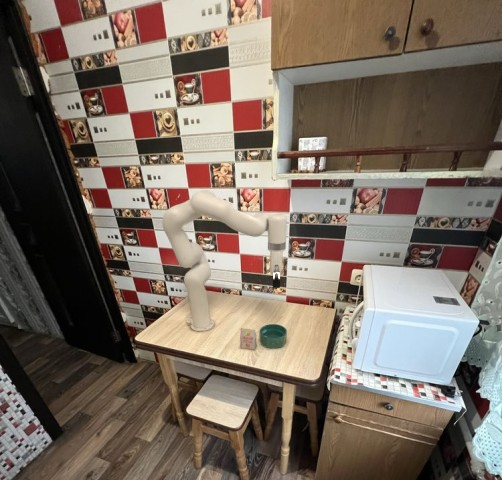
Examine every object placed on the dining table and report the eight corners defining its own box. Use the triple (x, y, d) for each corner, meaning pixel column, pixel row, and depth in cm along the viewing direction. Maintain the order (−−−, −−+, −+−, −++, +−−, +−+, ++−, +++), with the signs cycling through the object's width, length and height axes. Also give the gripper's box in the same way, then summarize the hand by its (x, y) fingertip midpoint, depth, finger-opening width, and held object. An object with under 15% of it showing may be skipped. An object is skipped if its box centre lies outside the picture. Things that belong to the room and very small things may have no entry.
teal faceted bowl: (262, 350, 129) (262, 340, 125) (257, 335, 139) (257, 325, 136) (289, 347, 130) (290, 336, 127) (282, 332, 141) (282, 322, 138)
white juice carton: (243, 343, 134) (242, 326, 129) (256, 345, 132) (256, 328, 127) (240, 348, 131) (239, 330, 126) (254, 350, 129) (253, 332, 124)
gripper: (268, 240, 125) (268, 276, 134) (267, 252, 110) (267, 291, 120) (284, 240, 124) (283, 276, 134) (286, 251, 110) (285, 291, 119)
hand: (276, 283), depth 127 cm, fingers open, 9 cm apart
